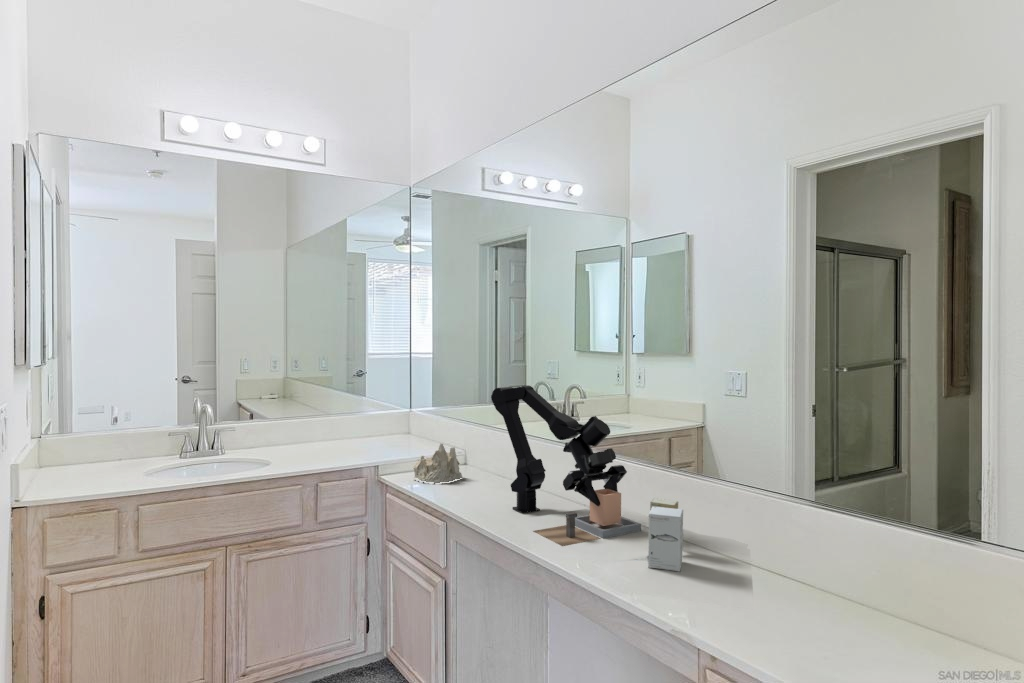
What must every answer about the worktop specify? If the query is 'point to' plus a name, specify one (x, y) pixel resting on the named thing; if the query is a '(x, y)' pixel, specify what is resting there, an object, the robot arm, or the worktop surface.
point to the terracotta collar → (606, 508)
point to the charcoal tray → (627, 528)
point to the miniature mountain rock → (438, 466)
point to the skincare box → (663, 503)
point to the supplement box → (665, 538)
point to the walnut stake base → (562, 535)
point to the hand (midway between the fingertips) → (608, 503)
